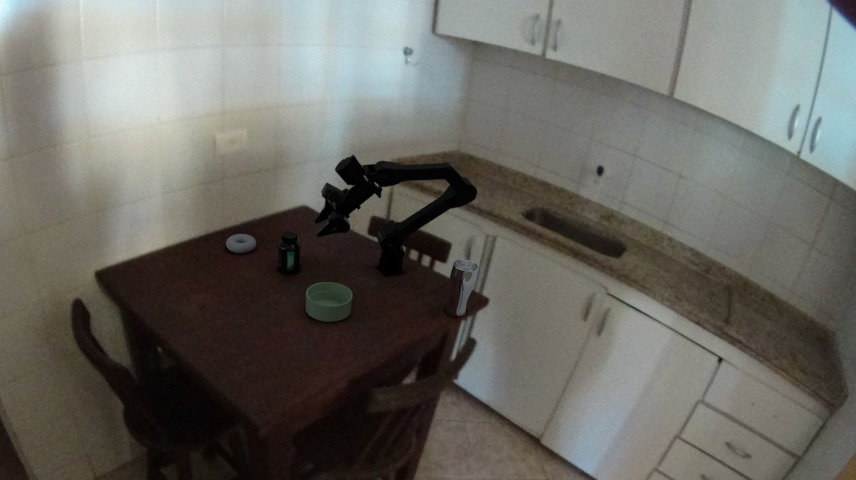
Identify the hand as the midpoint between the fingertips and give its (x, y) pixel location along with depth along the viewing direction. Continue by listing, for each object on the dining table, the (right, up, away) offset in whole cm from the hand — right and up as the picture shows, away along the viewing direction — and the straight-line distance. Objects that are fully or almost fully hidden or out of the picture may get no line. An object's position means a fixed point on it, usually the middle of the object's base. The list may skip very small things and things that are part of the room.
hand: (316, 229), depth 184 cm
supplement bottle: (-8, -11, +8) cm, 16 cm away
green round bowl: (+3, -25, -10) cm, 27 cm away
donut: (-24, -3, +19) cm, 31 cm away
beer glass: (+40, -25, -9) cm, 48 cm away
